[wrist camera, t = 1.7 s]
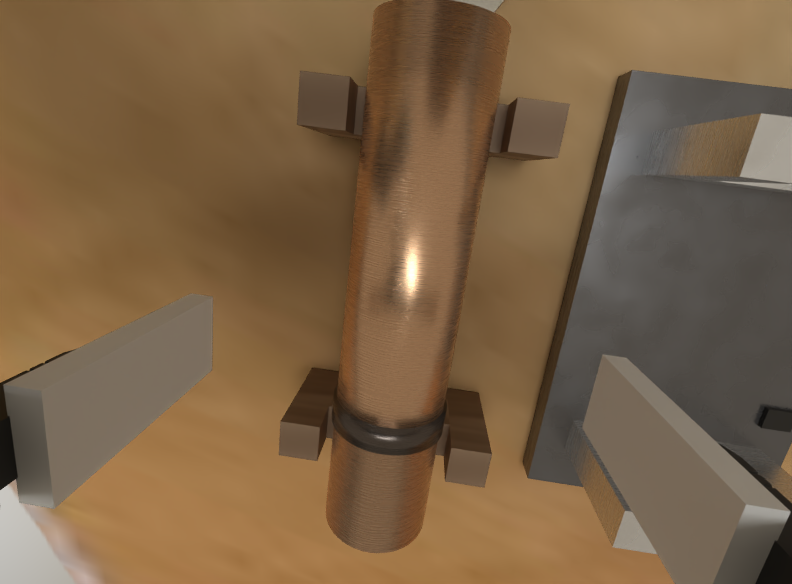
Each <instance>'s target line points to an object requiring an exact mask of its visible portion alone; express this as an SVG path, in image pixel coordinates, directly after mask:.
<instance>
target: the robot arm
mask: <svg viewBox="0 0 792 584" xmlns="http://www.w3.org/2000/svg"><path fill="white" fill-rule="evenodd" d="M212 338H213V297H212V296H205V295H199V294H192V293H191V294H189V295H187V296H185V297H183V298H181V299H179V300H177V301H175V302H172V303H170V304H168V305H166V306H164V307H162V308H160V309H158V310H156V311H154V312H152V313H150V314H148V315H146V316H144V317H142V318H139V319H137V320H135V321H133V322H131V323H129V324H127V325H125V326H123V327H121V328H119V329H117V330H115V331H113V332H111V333H109V334H107V335H104V336H102V337H100V338H98V339H96V340H94V341H92V342H90V343H88V344H86V345H84V346H82V347H80V348H78V349H75V350H71V351H68V352H64V353H62V354H60V355H58V356H56V357H53V358H51V359H49V360H47V361H45V364H44V363H41V364H39V365H37V366H35V367H33V368H30V370H29V371H24V372H22V373H20V374H18V375H16V376H14V377H12V378H10V379H7V380H5V381H3V382H1V383H0V490H1V489H2V488H4V487H5V486H7V485H8V484H9V483H11V482H12V481H13V480H15V479H16V481H17V489H18V496H19V503H24V504H30V505H35V506H41V507H47V508H53V509H55V508H56V507H57V506H58V505H59V504H60V503H61V502H63V501H64V500H65V499H66V498H67V497H68V496H69V495H70V494H72V493H73V492H74V491H75V490H76V489H77V488H78V487H80V486H81V485H82V484H83V483H84V482H85V481H86V480H88V479H89V478H90V477H91V476H92V475H93V474H94V473H96V472H97V471H98V470H99V469H100V468H101V467H102V466H103V465H105V464H106V463H107V462H108V461H109V460H110V459H111V458H113V457H114V456H115V455H116V454H117V453H118V452H119V451H121V450H122V449H123V448H124V447H125V446H126V445H127V444H129V443H130V442H131V441H132V440H133V439H134V438H135V437H136V436H138V435H139V434H140V433H141V432H142V431H143V430H144V429H146V428H147V427H148V426H149V425H150V424H151V423H152V422H154V421H155V420H156V419H157V418H158V417H159V416H160V415H162V414H163V413H164V412H165V411H166V410H167V409H168V408H169V407H171V406H172V405H173V404H174V403H175V402H176V401H177V400H179V399H180V398H181V397H182V396H183V395H184V394H185V393H187V392H188V391H189V390H190V389H191V388H192V387H193V386H194V385H196V384H197V383H198V382H199V381H200V380H201V379H202V378H204V377H205V376H206V375H207V374H208V373H209V372H210V371H212ZM582 428H583V430H584V432H585V433H586V435H587V437H588V438H589V440H590V442H591V443H592V445H593V447H594V448H595V450H596V452H597V453H598V455H599V457H600V459H601V460H602V462H603V464H604V465H605V467H606V469H607V470H608V472H609V474H610V475H611V477H612V479H613V480H614V482H615V484H616V485H617V487H618V489H619V490H620V492H621V494H622V495H623V497H624V499H625V501H626V502H627V504H628V506H629V507H630V509H631V511H632V512H633V514H634V516H635V517H636V519H637V521H638V522H639V524H640V526H641V527H642V529H643V531H644V532H645V534H646V536H647V538H648V539H649V541H650V543H651V544H652V546H653V548H654V549H655V551H656V553H657V554H658V556H659V558H660V559H661V561H662V563H663V564H664V566H665V568H666V569H667V571H668V573H669V574H670V576H671V578H672V580H673V581H674V583H675V584H792V503H791V502H790V501H789V500H788V499H787V498H786V497H784V496H783V495H782V494H781V493H780V492H779V491H778V490H777V489H776V488H772V485H771V484H770V483H769V482H768V481H767V480H766V479H765V478H764V477H762V476H761V475H758V472H757V471H756V470H755V469H754V468H753V467H752V466H750V465H749V464H748V463H747V462H746V461H745V460H744V459H743V458H742V457H740V456H739V455H737V454H735V453H734V452H732V451H731V450H729V449H727V448H726V447H724V446H723V445H721V444H720V443H717V442H716V441H715V440H714V439H713V438H712V437H711V436H709V435H708V434H707V433H706V432H705V431H704V430H703V429H702V428H701V427H700V426H699V425H698V424H697V423H696V422H695V421H693V420H692V419H691V418H690V417H689V416H688V415H687V414H686V413H685V412H684V411H683V410H682V409H681V408H680V407H679V406H677V405H676V404H675V403H674V402H673V401H672V400H671V399H670V398H669V397H668V396H667V395H666V394H665V393H664V392H662V391H661V390H660V389H659V388H658V387H657V386H656V385H655V384H654V383H653V382H652V381H651V380H650V379H649V378H648V377H646V376H645V375H644V374H643V373H642V372H641V371H640V370H639V369H638V368H637V367H636V366H635V365H634V364H633V363H632V362H630V361H629V360H628V359H627V358H625V357H618V356H611V355H604V354H603V355H602V358H601V362H600V366H599V369H598V373H597V376H596V380H595V383H594V387H593V391H592V394H591V398H590V401H589V405H588V409H587V412H586V416H585V419H584V423H583V426H582Z"/></svg>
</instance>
